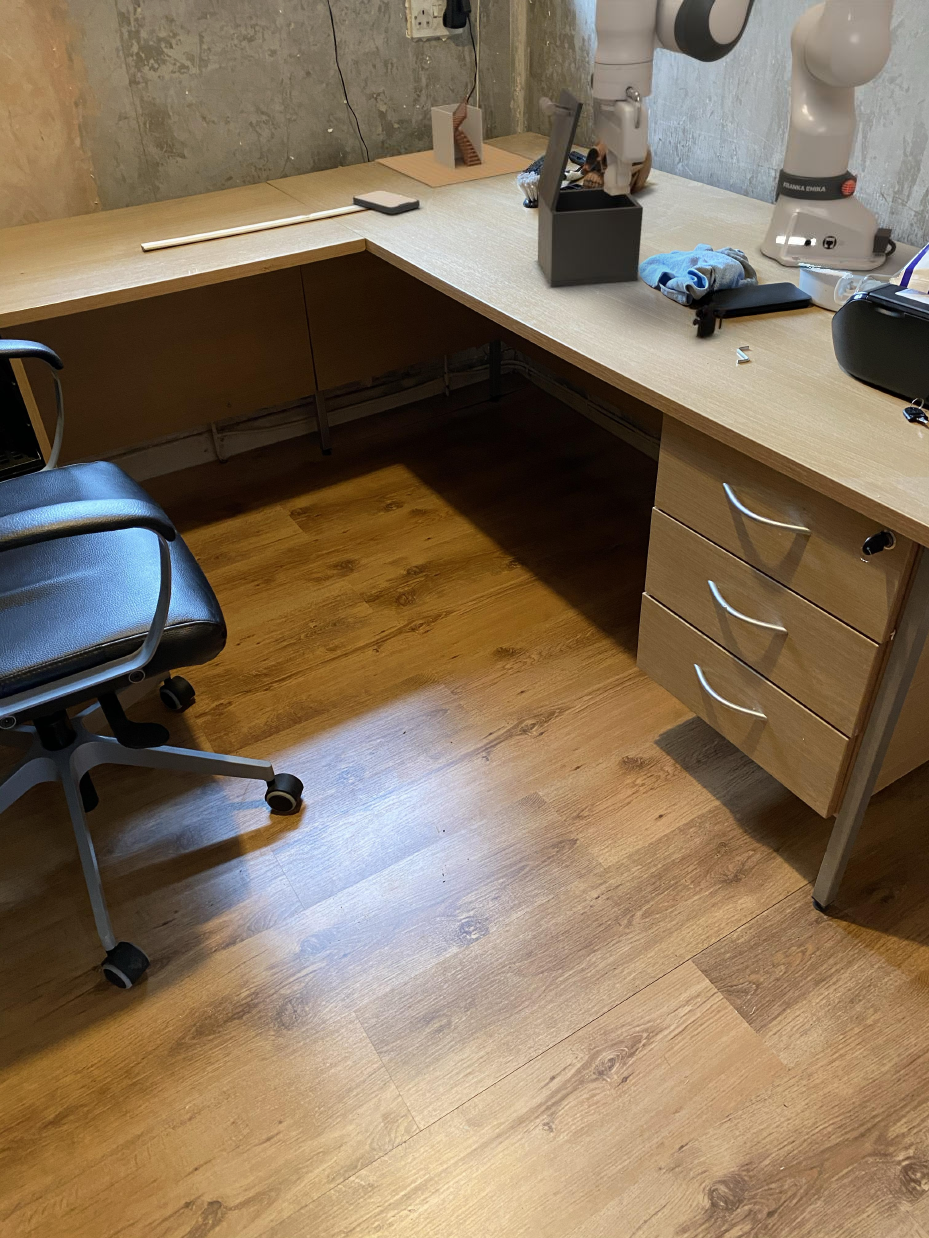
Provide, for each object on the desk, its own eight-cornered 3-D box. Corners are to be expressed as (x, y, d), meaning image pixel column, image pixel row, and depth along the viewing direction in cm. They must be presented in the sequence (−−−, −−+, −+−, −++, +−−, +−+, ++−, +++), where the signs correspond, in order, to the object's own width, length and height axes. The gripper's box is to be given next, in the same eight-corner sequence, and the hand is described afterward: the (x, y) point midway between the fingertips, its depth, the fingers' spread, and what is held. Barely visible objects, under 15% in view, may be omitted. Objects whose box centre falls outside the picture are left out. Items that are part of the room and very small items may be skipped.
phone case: (351, 204, 211) (391, 216, 201) (350, 197, 210) (390, 208, 200) (381, 196, 215) (422, 207, 205) (381, 189, 214) (422, 200, 204)
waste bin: (618, 255, 174) (623, 186, 166) (637, 280, 163) (643, 207, 155) (537, 261, 173) (538, 192, 166) (551, 287, 162) (552, 214, 155)
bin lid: (566, 88, 155) (538, 81, 154) (583, 103, 144) (553, 96, 143) (540, 190, 165) (514, 184, 164) (554, 212, 154) (526, 206, 153)
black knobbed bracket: (693, 343, 140) (697, 311, 137) (681, 338, 142) (685, 306, 139) (724, 331, 143) (729, 300, 140) (712, 327, 145) (717, 295, 142)
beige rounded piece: (630, 188, 149) (632, 159, 146) (630, 195, 145) (632, 165, 142) (603, 188, 149) (604, 159, 146) (602, 196, 146) (603, 166, 143)
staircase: (453, 169, 232) (450, 96, 221) (434, 161, 239) (430, 89, 229) (483, 164, 235) (481, 91, 224) (463, 156, 242) (460, 85, 232)
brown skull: (575, 203, 202) (580, 136, 195) (582, 192, 216) (587, 128, 209) (645, 207, 200) (653, 139, 192) (648, 195, 214) (655, 131, 206)
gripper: (661, 92, 130) (654, 195, 138) (626, 70, 145) (621, 164, 154) (618, 96, 129) (613, 199, 138) (587, 73, 145) (585, 167, 154)
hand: (617, 180), depth 146 cm, fingers closed on beige rounded piece, 4 cm apart
